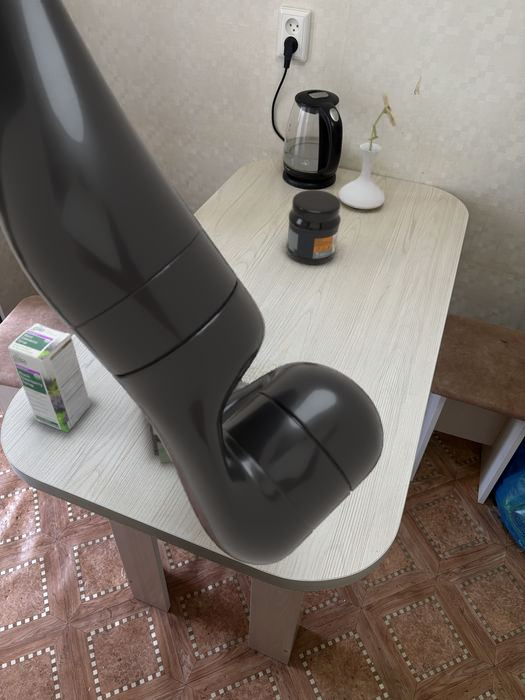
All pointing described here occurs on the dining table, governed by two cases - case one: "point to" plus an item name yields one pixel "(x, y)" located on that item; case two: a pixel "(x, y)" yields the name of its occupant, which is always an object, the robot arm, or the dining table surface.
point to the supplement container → (313, 226)
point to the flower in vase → (367, 173)
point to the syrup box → (50, 376)
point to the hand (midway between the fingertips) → (204, 410)
